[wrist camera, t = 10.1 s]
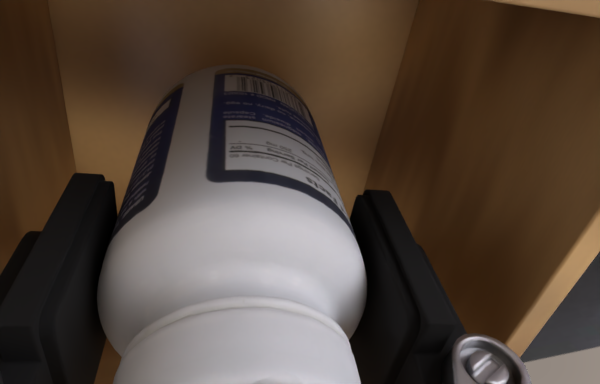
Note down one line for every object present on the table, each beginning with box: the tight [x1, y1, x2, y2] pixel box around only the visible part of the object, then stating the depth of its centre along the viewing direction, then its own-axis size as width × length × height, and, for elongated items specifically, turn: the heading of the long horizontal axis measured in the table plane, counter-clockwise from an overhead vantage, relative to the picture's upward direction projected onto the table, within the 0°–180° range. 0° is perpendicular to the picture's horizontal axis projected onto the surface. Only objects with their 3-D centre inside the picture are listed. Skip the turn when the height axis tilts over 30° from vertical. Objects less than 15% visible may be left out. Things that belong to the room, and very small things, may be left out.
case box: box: [0, 0, 600, 384], centre depth 14 cm, size 15×14×12 cm
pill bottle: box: [97, 64, 367, 384], centre depth 10 cm, size 5×5×10 cm
